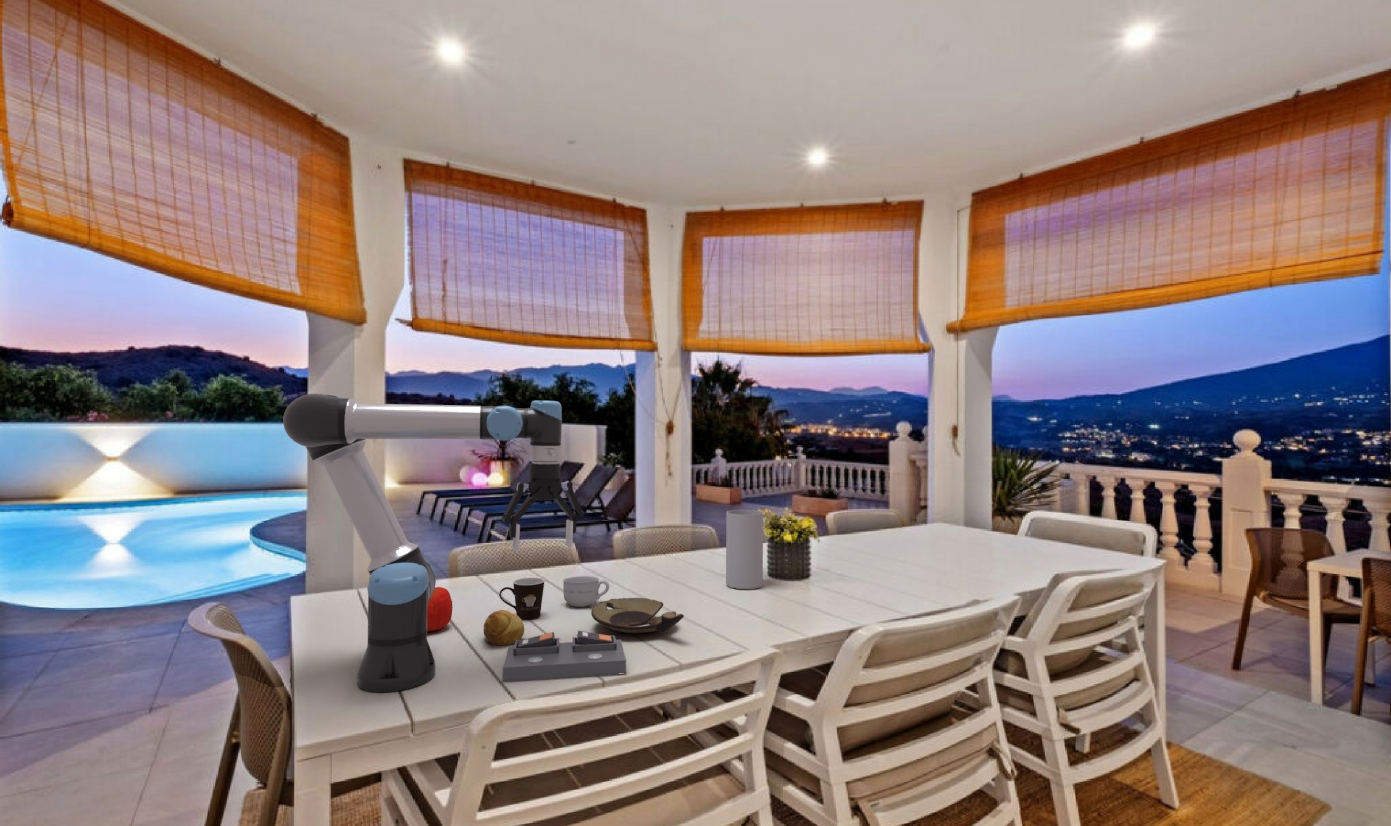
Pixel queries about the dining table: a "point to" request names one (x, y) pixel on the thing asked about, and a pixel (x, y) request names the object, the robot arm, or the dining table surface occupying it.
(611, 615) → the oil lamp
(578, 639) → the right rocker
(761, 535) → the cylinder vase
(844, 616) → the dining table surface
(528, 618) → the coffee mug
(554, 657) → the rocker switch box
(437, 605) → the tomato
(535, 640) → the left rocker
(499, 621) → the bread roll
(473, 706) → the dining table surface
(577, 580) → the teacup
